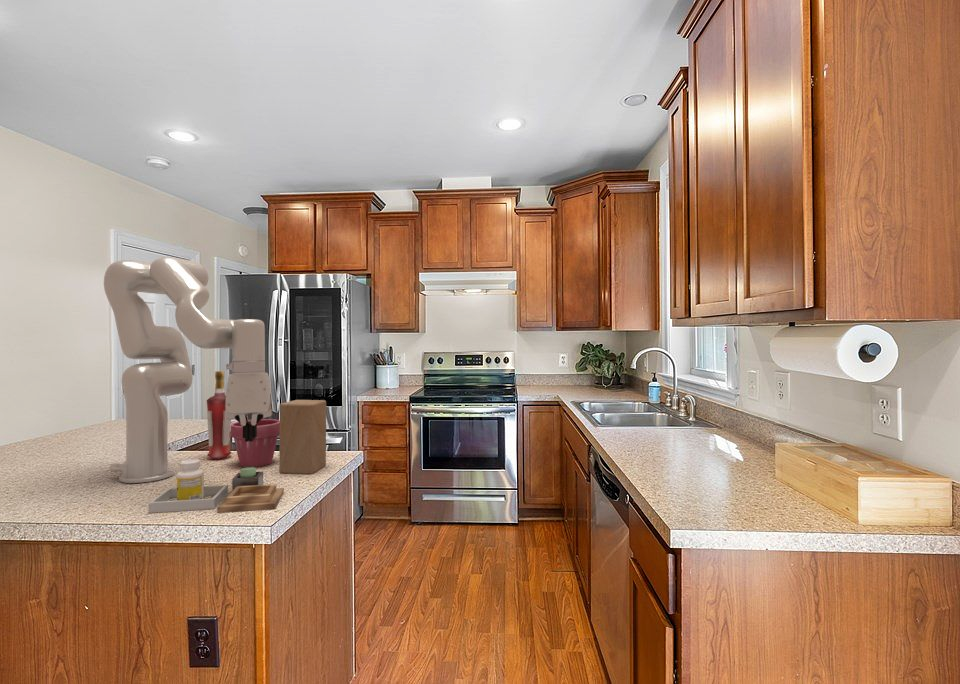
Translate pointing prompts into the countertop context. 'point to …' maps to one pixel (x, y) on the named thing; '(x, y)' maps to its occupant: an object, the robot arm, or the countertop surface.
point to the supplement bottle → (190, 481)
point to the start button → (248, 472)
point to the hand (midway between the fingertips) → (249, 440)
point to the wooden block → (302, 436)
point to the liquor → (218, 421)
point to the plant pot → (256, 443)
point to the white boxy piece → (247, 480)
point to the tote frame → (184, 505)
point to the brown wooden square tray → (251, 498)
